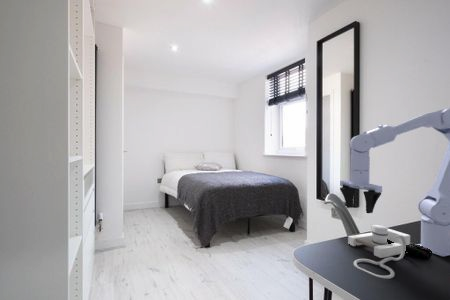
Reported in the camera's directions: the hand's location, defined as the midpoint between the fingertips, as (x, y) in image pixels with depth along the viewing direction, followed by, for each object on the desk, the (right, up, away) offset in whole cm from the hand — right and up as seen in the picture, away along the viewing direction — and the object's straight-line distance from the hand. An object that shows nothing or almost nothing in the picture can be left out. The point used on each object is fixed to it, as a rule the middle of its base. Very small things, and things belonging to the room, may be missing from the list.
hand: (359, 210), depth 82 cm
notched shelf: (+3, -10, -6) cm, 12 cm away
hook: (-2, -11, -17) cm, 20 cm away
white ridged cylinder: (+3, -10, -6) cm, 12 cm away
